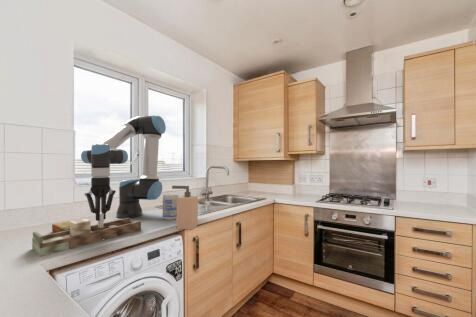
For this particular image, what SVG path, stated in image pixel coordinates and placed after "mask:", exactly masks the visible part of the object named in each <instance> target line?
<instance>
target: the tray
mask: <svg viewBox="0 0 476 317" xmlns="http://www.w3.org/2000/svg"><path fill="white" fill-rule="evenodd" d="M141 230H142V221H141V220H138V221H132V220H131V218H119V219H116V220H111V221H106V222H104V227H102V228H99V227H98V223H96V224H93V225H92V224H91V232H89V233H85V234H81V235H76V236H71V235H70V230H67V231H62V232H57V233H53V232H52V233H49V234H48V233H47V234H43V235H42V234H40V233H39V232H38V231H33V232H32V238H31V239H32V241H31V242H32V243H31V245H32V250H33V251H34V252H35V253H36V254H37V255H38V256H39V257H43V256H46V255H51V254H55V253H59V252H64V251H66V250H70V249H74V248H78V247H82V246H85V245H89V244H92V243H93V244H94V243H97V242H100V240H101V241H104V240H103V239H105V240H108V239H107V238H109V239H112V238H111V237H113V238H116V237H120V236H124V235H128V234H132V233H135V232H139V231H141ZM115 236H116V237H115Z"/></svg>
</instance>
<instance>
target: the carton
mask: <svg viewBox="0 0 476 317" xmlns="http://www.w3.org/2000/svg"><path fill="white" fill-rule="evenodd" d="M70 221H71V220H69V221H63V222H57V223H53V224H51V232H52V234H53V233H57V232H62V231H67V230H70Z"/></svg>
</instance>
